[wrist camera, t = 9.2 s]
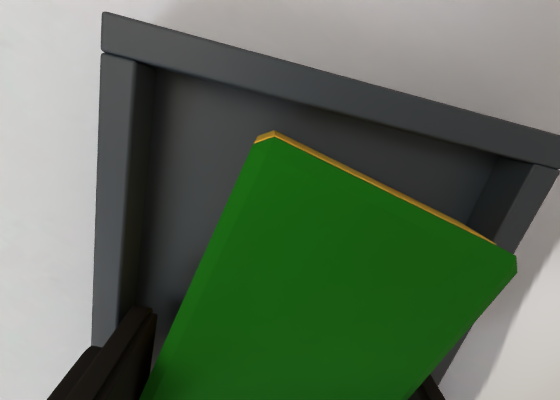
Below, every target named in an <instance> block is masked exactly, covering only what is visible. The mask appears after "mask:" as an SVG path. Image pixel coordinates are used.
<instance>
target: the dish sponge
mask: <svg viewBox="0 0 560 400" xmlns="http://www.w3.org/2000/svg"><path fill="white" fill-rule="evenodd" d="M516 274H517V261H516V256H515V255H513V254H512V253H510V252H508V251H507V250H505V249H503V248H501V247H499V246H497V245H496V244H495V243H494V242H492V241H490V240H489V239H487V238H485V237H484V236H482V235H480V234H479V233H477V232H476V231H474V230H472V229H471V228H469V227H467V226H466V225H464V224H462V223H461V222H459V221H457V220H455V219H453V218H451V217H449V216H447V215H445V214H443V213H441V212H439V211H437V210H435V209H433V208H431V207H429V206H427V205H425V204H423V203H421V202H419V201H417V200H415V199H413V198H411V197H409V196H407V195H405V194H403V193H400V192H398V191H396V190H394V189H392V188H390V187H388V186H386V185H384V184H382V183H380V182H378V181H376V180H374V179H372V178H370V177H368V176H366V175H364V174H362V173H360V172H358V171H356V170H354V169H352V168H350V167H348V166H346V165H344V164H342V163H340V162H338V161H336V160H334V159H332V158H330V157H328V156H326V155H324V154H322V153H320V152H318V151H316V150H314V149H312V148H310V147H307V146H305V145H303V144H301V143H299V142H297V141H295V140H293V139H291V138H289V137H287V136H285V135H283V134H281V133H279V132H277V131H275V130H273V131H270V132H268V133H265V134H262V135H259V136H258V137H257V138H256V140H255V142H254V144H253V145H252V147H251V150H250V152H249V154H248V156H247V159H246V161H245V163H244V165H243V168H242V170H241V172H240V174H239V177H238V179H237V181H236V183H235V185H234V188H233V190H232V192H231V194H230V197H229V199H228V201H227V203H226V206H225V208H224V210H223V212H222V215H221V217H220V219H219V221H218V224H217V226H216V228H215V230H214V233H213V235H212V237H211V239H210V242H209V244H208V246H207V248H206V250H205V253H204V255H203V257H202V259H201V262H200V264H199V266H198V268H197V271H196V273H195V275H194V277H193V280H192V282H191V284H190V286H189V289H188V291H187V293H186V295H185V298H184V300H183V302H182V304H181V306H180V309H179V311H178V313H177V315H176V318H175V320H174V322H173V324H172V327H171V329H170V331H169V333H168V336H167V338H166V340H165V342H164V345H163V347H162V349H161V351H160V354H159V356H158V358H157V360H156V363H155V365H154V367H153V369H152V371H151V374H150V376H149V378H148V380H147V383H146V385H145V387H144V389H143V392H142V394H141V396H140V398H139V400H408V399H409V398H410V396H411V395H412V394H413V393H414V392H415V390H416V389H417V388H418V387H419V386H420V385H421V384H422V383H423V381H424V380H425V379H426V378H427V377H428V376H429V374H430V373H431V372H432V371H433V370H434V369H435V367H436V366H437V365H438V364H439V363H440V362H441V360H442V359H443V358H444V357H445V356H446V355H447V354H448V352H449V351H450V350H451V349H452V348H453V347H454V345H455V344H456V343H457V342H458V341H459V340H460V338H461V337H462V336H463V335H464V334H465V333H466V331H467V330H468V329H469V328H470V327H471V326H472V325H473V323H474V322H475V321H476V320H477V319H478V318H479V316H480V315H481V314H482V313H483V312H484V311H485V309H486V308H487V307H488V306H489V305H490V304H491V302H492V301H493V300H494V299H495V298H496V297H497V296H498V294H499V293H500V292H501V291H502V290H503V289H504V287H505V286H506V285H507V284H508V283H509V282H510V280H511V279H512V278H513V277H514V276H515V275H516Z"/></svg>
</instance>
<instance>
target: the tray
mask: <svg viewBox="0 0 560 400" xmlns="http://www.w3.org/2000/svg"><path fill="white" fill-rule="evenodd" d="M101 50H102V51H103V52H105V53H102V54H101V65H100V96H99V126H98V156H97V187H96V217H95V247H94V278H93V308H92V338H91V346H98V347H103V346H104V345H105V343H106V342H107V340H108V339H109V338H110V336H111V335H112V333H113V332H114V331H115V329H116V328H117V327H118V325H119V324H120V322H121V321H122V320H123V318H124V317H125V316H126V314H127V313H128V311H129V310H130V309H131V307H132V306H133V305H138V306H144V307H149V308H152V309H153V313H155V314H157V323H156V331H155V339H154V347H153V354H152V362H151V370H150V374H151V371H152V369H153V367H154V365H155V363H156V360H157V358H158V356H159V354H160V351H161V349H162V347H163V345H164V342H165V340H166V338H167V336H168V333H169V331H170V329H171V327H172V324H173V322H174V320H175V318H176V315H177V313H178V311H179V309H180V306H181V304H182V302H183V300H184V298H185V295H186V293H187V291H188V289H189V286H190V284H191V282H192V280H193V277H194V275H195V273H196V271H197V268H198V266H199V264H200V262H201V259H202V257H203V255H204V253H205V250H206V248H207V246H208V244H209V242H210V239H211V237H212V235H213V233H214V230H215V228H216V226H217V224H218V221H219V219H220V217H221V215H222V212H223V210H224V208H225V206H226V203H227V201H228V199H229V197H230V194H231V192H232V190H233V188H234V185H235V183H236V181H237V179H238V177H239V174H240V172H241V170H242V168H243V165H244V163H245V161H246V159H247V156H248V154H249V152H250V150H251V147H252V145H253V144H254V142H255V140H256V138H257V137H258V136H259V135H262V134H265V133H268V132H270V131H273V130H275V131H277V132H279V133H281V134H283V135H285V136H287V137H289V138H291V139H293V140H295V141H297V142H299V143H301V144H303V145H305V146H307V147H310V148H312V149H314V150H316V151H318V152H320V153H322V154H324V155H326V156H328V157H330V158H332V159H334V160H336V161H338V162H340V163H342V164H344V165H346V166H348V167H350V168H352V169H354V170H356V171H358V172H360V173H362V174H364V175H366V176H368V177H370V178H372V179H374V180H376V181H378V182H380V183H382V184H384V185H386V186H388V187H390V188H392V189H394V190H396V191H398V192H400V193H403V194H405V195H407V196H409V197H411V198H413V199H415V200H417V201H419V202H421V203H423V204H425V205H427V206H429V207H431V208H433V209H435V210H437V211H439V212H441V213H443V214H445V215H447V216H449V217H451V218H453V219H455V220H457V221H459V222H461V223H462V224H464V225H466V226H467V227H469V228H471V229H472V230H474V231H476V232H477V233H479V234H480V235H482V236H484V237H485V238H487V239H489V240H490V241H492V242H494V243H495V244H496V245H497V246H499V247H501V248H503V249H505V250H507V251H508V252H510V253H512V254H514V252H515V250H516V248H517V247H518V245H519V243H520V241H521V240H522V238H523V236H524V234H525V233H526V231H527V229H528V227H529V226H530V224H531V222H532V220H533V219H534V217H535V215H536V213H537V212H538V210H539V208H540V206H541V205H542V203H543V201H544V199H545V198H546V196H547V194H548V192H549V191H550V189H551V187H552V185H553V184H554V182H555V180H556V178H557V177H558V175H559V173H560V171H559V170H557V169H560V135H557V134H553V133H550V132H546V131H542V130H539V129H535V128H531V127H528V126H524V125H520V124H517V123H513V122H509V121H505V120H502V119H498V118H494V117H491V116H487V115H483V114H480V113H476V112H472V111H469V110H465V109H461V108H458V107H454V106H450V105H447V104H443V103H439V102H436V101H432V100H428V99H425V98H421V97H417V96H414V95H410V94H406V93H403V92H399V91H395V90H392V89H388V88H384V87H381V86H377V85H373V84H370V83H366V82H362V81H359V80H355V79H351V78H348V77H344V76H340V75H337V74H333V73H329V72H326V71H322V70H318V69H315V68H311V67H307V66H304V65H300V64H296V63H293V62H289V61H285V60H282V59H278V58H274V57H271V56H267V55H263V54H260V53H256V52H252V51H249V50H245V49H241V48H238V47H234V46H230V45H227V44H223V43H219V42H216V41H212V40H208V39H205V38H201V37H197V36H194V35H190V34H186V33H183V32H179V31H175V30H172V29H168V28H164V27H161V26H157V25H153V24H150V23H146V22H142V21H139V20H135V19H131V18H128V17H124V16H120V15H117V14H113V13H109V12H103V13H102V25H101ZM473 324H474V323H473ZM471 327H472V326H471ZM471 327H470V328H469V329H468V330H467V331H466V333H465V334H464V335H463V336H462V337H461V338H460V340H459V341H458V342H457V343H456V344H455V345H454V347H453V348H452V349H451V350H450V351H449V352H448V354H447V355H446V356H445V357H444V358H443V359H442V360H441V362H440V363H439V364H438V365H437V366H436V367H435V369H434V370H433V371H432V372H431V373H430V374H431V376H432V378H433V380H434V381H435V383H436V385H437V386H438V385H439V383H440V381H441V379H442V378H443V376H444V374H445V372H446V371H447V369H448V367H449V365H450V364H451V362H452V360H453V358H454V357H455V355H456V353H457V351H458V350H459V348H460V346H461V345H462V343H463V341H464V339H465V338H466V336H467V334H468V332H469V331H470V329H471Z"/></svg>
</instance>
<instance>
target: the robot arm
mask: <svg viewBox="0 0 560 400" xmlns="http://www.w3.org/2000/svg"><path fill="white" fill-rule="evenodd" d="M156 323H157V314H155V313H153V309H152V308H149V307H144V306H138V305H133V306H132V307H131V309H130V310H129V311H128V313H127V314H126V316H125V317H124V318H123V320H122V321H121V322H120V324H119V325H118V327H117V328H116V329H115V331H114V332H113V333H112V335H111V336H110V338H109V339H108V340H107V342H106V343H105V345H104V346H103V347H98V346H91V347H89V348H88V349H87V350H86V351H85V352H84V353H83V354H82V355H81V357H80V358H79V359H78V360H77V362H76V363H75V364H74V366H73V367H72V368H71V369H70V371H69V372H68V373H67V374H66V376H65V377H64V378H63V380H62V381H61V382H60V383H59V385H58V386H57V387H56V388H55V390H54V391H53V392H52V394H51V395H50V396H49V397H48V399H47V400H139V398H140V396H141V394H142V392H143V389H144V387H145V385H146V383H147V380H148V378H149V376H150V370H151V362H152V354H153V347H154V339H155V331H156ZM408 400H445V398H444V396H443V395H442V393H441V391H440V390H439V388H438V386H437V385H436V383H435V381H434V380H433V378H432V376H431V374H429V376H428V377H427V378H426V379H425V380H424V381H423V383H422V384H421V385H420V386H419V387H418V388H417V389H416V390H415V392H414V393H413V394H412V395H411V396H410V398H409V399H408Z"/></svg>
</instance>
